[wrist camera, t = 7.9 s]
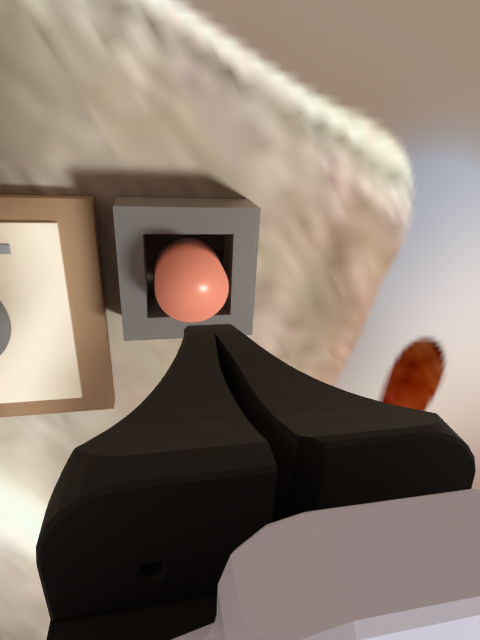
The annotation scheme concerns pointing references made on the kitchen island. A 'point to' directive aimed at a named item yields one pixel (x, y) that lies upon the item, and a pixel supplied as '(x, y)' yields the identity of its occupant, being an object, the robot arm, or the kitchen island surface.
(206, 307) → the button
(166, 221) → the button housing
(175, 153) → the kitchen island surface
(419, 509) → the robot arm
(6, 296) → the board
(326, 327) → the kitchen island surface
